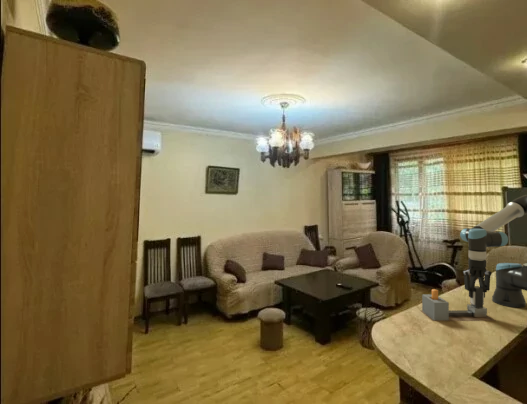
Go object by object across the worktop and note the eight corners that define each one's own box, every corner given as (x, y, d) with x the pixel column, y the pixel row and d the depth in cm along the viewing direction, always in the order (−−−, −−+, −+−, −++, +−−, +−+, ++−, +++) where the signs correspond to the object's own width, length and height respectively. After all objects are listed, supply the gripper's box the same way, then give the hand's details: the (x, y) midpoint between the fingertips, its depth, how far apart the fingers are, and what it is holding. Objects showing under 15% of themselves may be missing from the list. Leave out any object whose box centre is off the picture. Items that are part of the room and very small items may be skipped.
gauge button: (436, 304, 156) (436, 289, 156) (439, 306, 153) (439, 291, 153) (430, 304, 156) (430, 289, 156) (433, 306, 153) (433, 291, 153)
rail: (481, 314, 156) (481, 310, 156) (486, 316, 153) (486, 312, 153) (440, 314, 156) (440, 310, 156) (443, 316, 153) (443, 312, 153)
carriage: (478, 312, 157) (478, 285, 157) (486, 317, 151) (487, 289, 151) (467, 312, 157) (467, 285, 157) (474, 317, 151) (475, 289, 151)
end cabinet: (435, 310, 161) (435, 294, 160) (448, 320, 149) (448, 302, 148) (422, 310, 161) (422, 294, 161) (434, 320, 149) (434, 302, 149)
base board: (478, 311, 161) (478, 310, 161) (496, 322, 148) (496, 320, 148) (419, 312, 161) (419, 310, 161) (432, 322, 148) (432, 320, 148)
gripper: (488, 257, 157) (488, 301, 158) (456, 257, 157) (456, 301, 158) (499, 260, 149) (498, 306, 150) (465, 260, 150) (465, 306, 151)
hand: (476, 303), depth 154 cm, fingers closed on carriage, 4 cm apart
